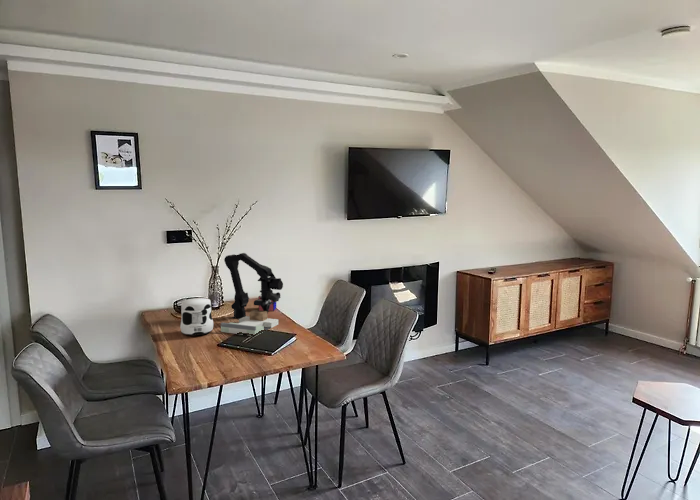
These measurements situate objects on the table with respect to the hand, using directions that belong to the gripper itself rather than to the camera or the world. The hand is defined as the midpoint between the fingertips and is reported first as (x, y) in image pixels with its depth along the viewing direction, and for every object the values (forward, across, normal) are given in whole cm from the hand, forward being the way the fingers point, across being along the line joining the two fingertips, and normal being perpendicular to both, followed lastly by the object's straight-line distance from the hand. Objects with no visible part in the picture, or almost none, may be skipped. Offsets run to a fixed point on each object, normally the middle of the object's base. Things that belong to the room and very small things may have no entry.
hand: (266, 314), depth 286 cm
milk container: (+4, -37, +22) cm, 43 cm away
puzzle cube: (+4, +25, +14) cm, 29 cm away
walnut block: (+1, -9, 0) cm, 9 cm away
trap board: (+4, -17, 0) cm, 18 cm away
